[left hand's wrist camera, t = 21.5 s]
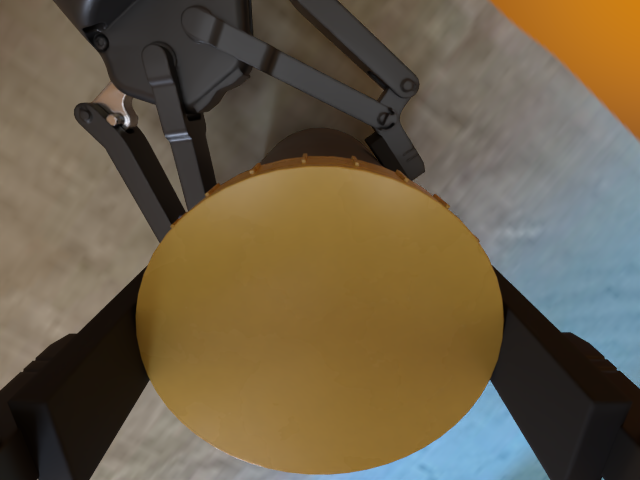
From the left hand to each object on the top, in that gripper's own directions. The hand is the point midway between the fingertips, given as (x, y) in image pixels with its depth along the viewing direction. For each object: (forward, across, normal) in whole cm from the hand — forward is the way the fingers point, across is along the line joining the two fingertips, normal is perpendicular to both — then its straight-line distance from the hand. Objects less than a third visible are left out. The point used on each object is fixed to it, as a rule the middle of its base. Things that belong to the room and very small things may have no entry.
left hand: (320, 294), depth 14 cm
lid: (-3, 0, 0) cm, 3 cm away
